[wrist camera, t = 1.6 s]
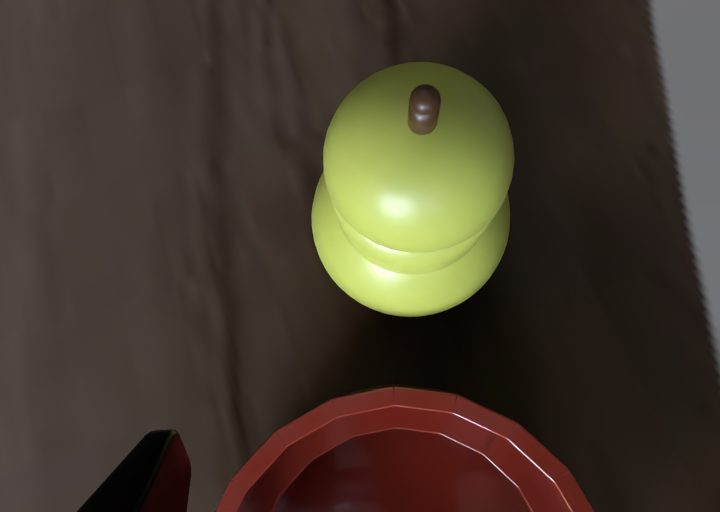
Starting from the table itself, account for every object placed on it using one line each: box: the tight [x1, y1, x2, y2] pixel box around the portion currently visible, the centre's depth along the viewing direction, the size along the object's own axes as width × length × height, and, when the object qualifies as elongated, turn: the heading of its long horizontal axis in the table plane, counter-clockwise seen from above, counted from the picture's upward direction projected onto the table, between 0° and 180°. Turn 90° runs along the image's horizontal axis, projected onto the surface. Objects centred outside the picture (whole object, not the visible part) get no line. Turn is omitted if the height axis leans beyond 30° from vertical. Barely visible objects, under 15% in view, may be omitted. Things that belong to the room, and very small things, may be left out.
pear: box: [312, 62, 515, 317], centre depth 17 cm, size 7×7×12 cm
